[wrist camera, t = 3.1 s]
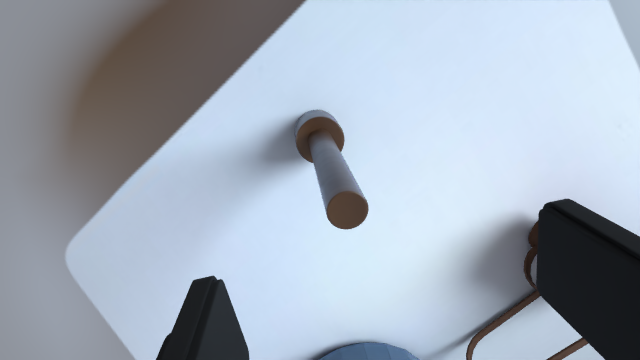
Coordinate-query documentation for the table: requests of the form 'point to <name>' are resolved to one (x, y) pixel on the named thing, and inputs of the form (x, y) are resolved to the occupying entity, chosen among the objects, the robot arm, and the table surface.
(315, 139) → the stirring stick
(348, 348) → the bowl
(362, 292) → the table surface
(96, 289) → the table surface
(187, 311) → the robot arm
